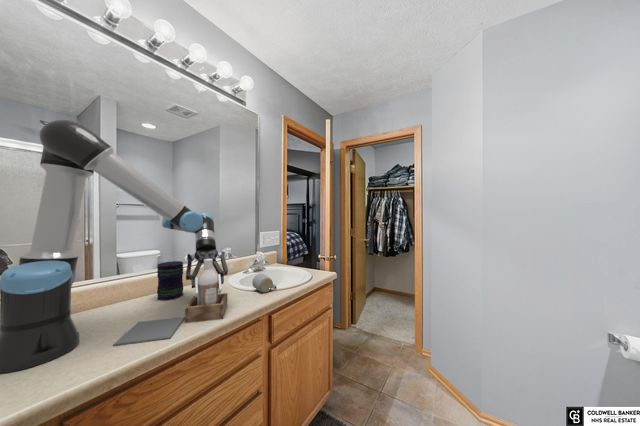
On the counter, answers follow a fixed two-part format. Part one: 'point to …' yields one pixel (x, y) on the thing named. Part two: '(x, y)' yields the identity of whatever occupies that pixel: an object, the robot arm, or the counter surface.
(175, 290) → the storage jar
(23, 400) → the counter surface
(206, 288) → the bath foam
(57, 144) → the robot arm
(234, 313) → the counter surface
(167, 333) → the rubber mat
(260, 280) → the ceramic mug
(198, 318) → the wooden tray
